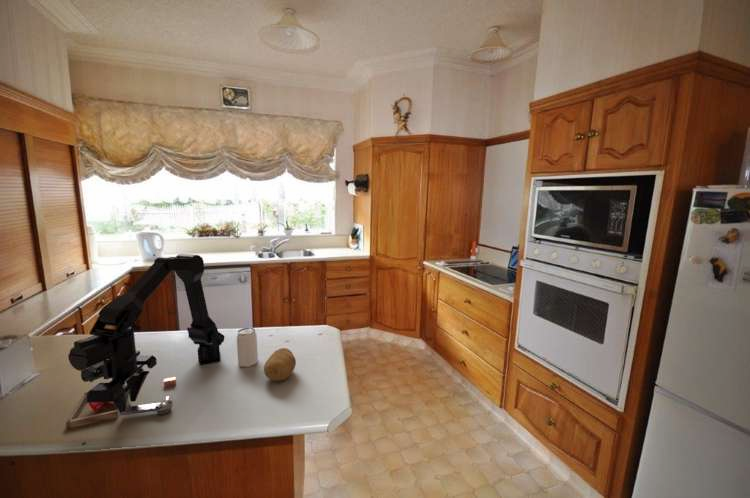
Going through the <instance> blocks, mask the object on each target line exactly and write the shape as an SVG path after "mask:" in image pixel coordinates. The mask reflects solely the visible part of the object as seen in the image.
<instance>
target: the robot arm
mask: <svg viewBox="0 0 750 498" xmlns="http://www.w3.org/2000/svg"><path fill="white" fill-rule="evenodd" d="M172 271H175V274H176V276H178V278H179V279H180V280H181V282H182V283H183V285H184V289H185V294H186V298H187V302H188V306H189V311H190V315H191V320H192V321H191V323H190V325H189V326H187V328H186V331H187V334H188V339H190V340H191V341H192V342H193V344H194V345H198V347H197V358H198V359H197V360H198V362H199V365H206V364H212V363H216V362H217V363H218V362H220V361H221V352H220V351H221V349H220V346H221V345H222V343H223V342H225V335H224V334H222V333H221V332H220V331H219V329H218V327H217V325H216V323H215V321H213V319H212V318H211V317H210V315H209V312H208V307H207V303H206V297H205V292H204V288H203V284H202V277H203V275H204V272H205V264H204V259H203V257H202V256H200V255H199V254H189V253H179V254H177V255H176V256H159V257H157V258H155V259H154V261H153V263H152V264H151V266H150V267H149V268H148V269H147V270H146V271H145V272H144V273H142V275H141V276H140V277H139V278H138V280H136V282H134V284H133V285H132V286H131V287H130V288H129V289H128V290H127V291H126V292H125V293H123V294H122V295H119V296H116V297H115V298H113V299H112V300H111V301H109V302H108V303H107V304H105V306H103V307H101V310H100V311H99V313H98V317H97V319H96V321H95V323H94V324H93V326H92V328H91V329H90V331H89V333H88V334H89V335H91V336H89V337H88V336H87V337H86V338H83V339H79V340H75V341H74V342H73V347H71V348H70V350H69V353H68V355H67V357H68V362H69V363H70V364H69V365H71V366H72V367H73V369H75V370H77V371H80V377H81V380H82V381H83V382H85V383H86V382H87V383H88V382H89V383H92V382H94V381H96V380H98V379H101V378H103V380H110V381H109V382H99V383H97V384H96V385H95V386H93V387H92V388H90V389H89V390H88V391H86V392H87V393H86V392H85V393H86V400H87V402H86V404H87V403H88V404H89V403H90V402H106V403H113V404H114V406H115V407H116V410H118V412H119V411H120V412H124V411H125V409H126V405H127V401H128V397H129V392H130V399H131V403H132V402H133V403H134V402H136V401H137V399H138V396H139V394H140V391H141V390H142V387H143V385H144V383H145V381H146V378H147V376H148V375H149V373H150V371H149V370H144V368H143V367H144V366H147V368H148V369H153V368H154V367H155V366H156V365H157V364H158V360H157V358H156V357H155V356H154V355H153V354H151V355H147V354H146V355H141V351H140V350H137V348H136V347H137V346H136V338H135V332H137V331H139V330H142V328H143V326H141V325H139V324H137V323H136V322H137V321H138V319H139V318H140V316H141V314H142V313H143V309H144V304H145V302H146V301H147V300H148V299H149V297H150V296H152V294H153V293H154V292H155V291H156V290H157V288H158V287H159V286H160V285H161V284H162V283H163V282H164V280H165V279H166V278H167V277H168V275H169V274H170V273H172ZM107 327H111V328H107ZM112 327H113V329H112ZM114 328H115V329H114ZM125 385H127V388H125ZM111 401H113V402H111Z"/></svg>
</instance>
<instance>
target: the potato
mask: <svg viewBox="0 0 750 498" xmlns="http://www.w3.org/2000/svg"><path fill="white" fill-rule="evenodd" d="M296 365H297V360H296V357H295V356H294V354H293V352H292V351H291V350H290V349H289V348H286V347H285V348H278V349H277V350H275V351H274V352H273V353H272V354H271V355H270V356H269V357H268V359H267V360H266V362H265V363H264V365H263V371H264V372H263V373H264V375H265V376H266V378H267V379H269V380H270V381H272V382H273V381H274V382H279V381H280V382H281V381H284V380H285V379H287V378H288V377H290V376H291V375H292V373H293V372H294V370H295V368H296Z"/></svg>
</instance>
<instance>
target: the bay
mask: <svg viewBox="0 0 750 498" xmlns="http://www.w3.org/2000/svg"><path fill="white" fill-rule="evenodd" d="M125 388H127V384H125ZM87 392H88V391H86V392H84V393H83V395H82V396H81V397H80V399H79V401H78V402H77V404H76V405H75V408H74V409H73V410H72V412H71V413H70V415H69V417H68V419H67V420H66V421H65V426H66V427H65V428H66V430H68V429H73V428H78V427H82V426H86V425H91V424H96V423H100V422H105V421H108V420H113V419H117V418H119V417H120V416H119V410H118V409H115V410H110V411H105V412H101V413H100V412H99V413H95V414H92V415H88V416H83V417H79V415H80V414H81V412H82V410H83V409H84V407H85V405H86V404H87V400H86V393H87Z"/></svg>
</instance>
